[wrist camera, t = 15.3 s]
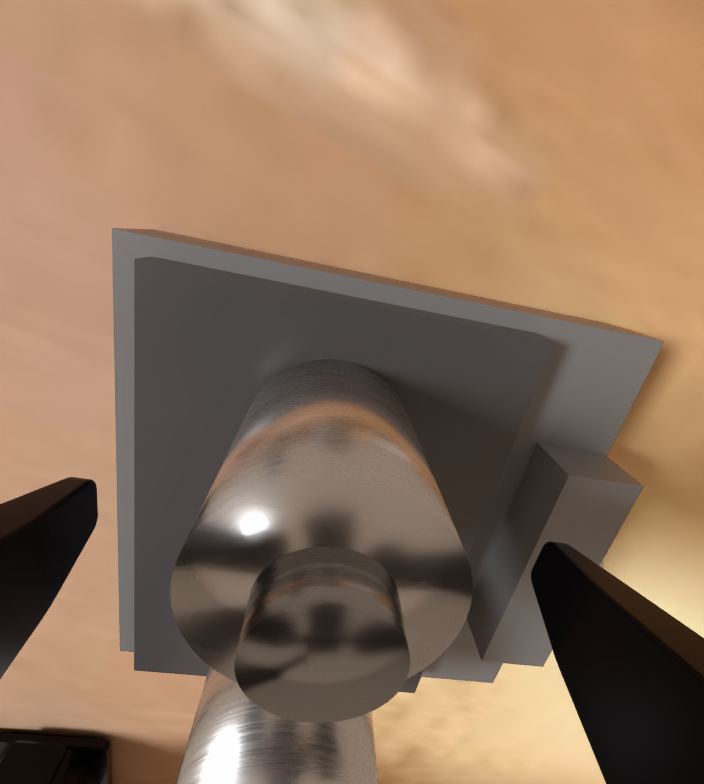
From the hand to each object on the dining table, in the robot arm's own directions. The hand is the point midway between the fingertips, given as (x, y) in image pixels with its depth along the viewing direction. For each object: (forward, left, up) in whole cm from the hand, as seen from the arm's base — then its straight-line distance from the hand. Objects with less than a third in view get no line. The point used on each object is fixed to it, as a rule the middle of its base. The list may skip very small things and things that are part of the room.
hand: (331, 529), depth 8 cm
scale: (-4, -1, -7) cm, 8 cm away
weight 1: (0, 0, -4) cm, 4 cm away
